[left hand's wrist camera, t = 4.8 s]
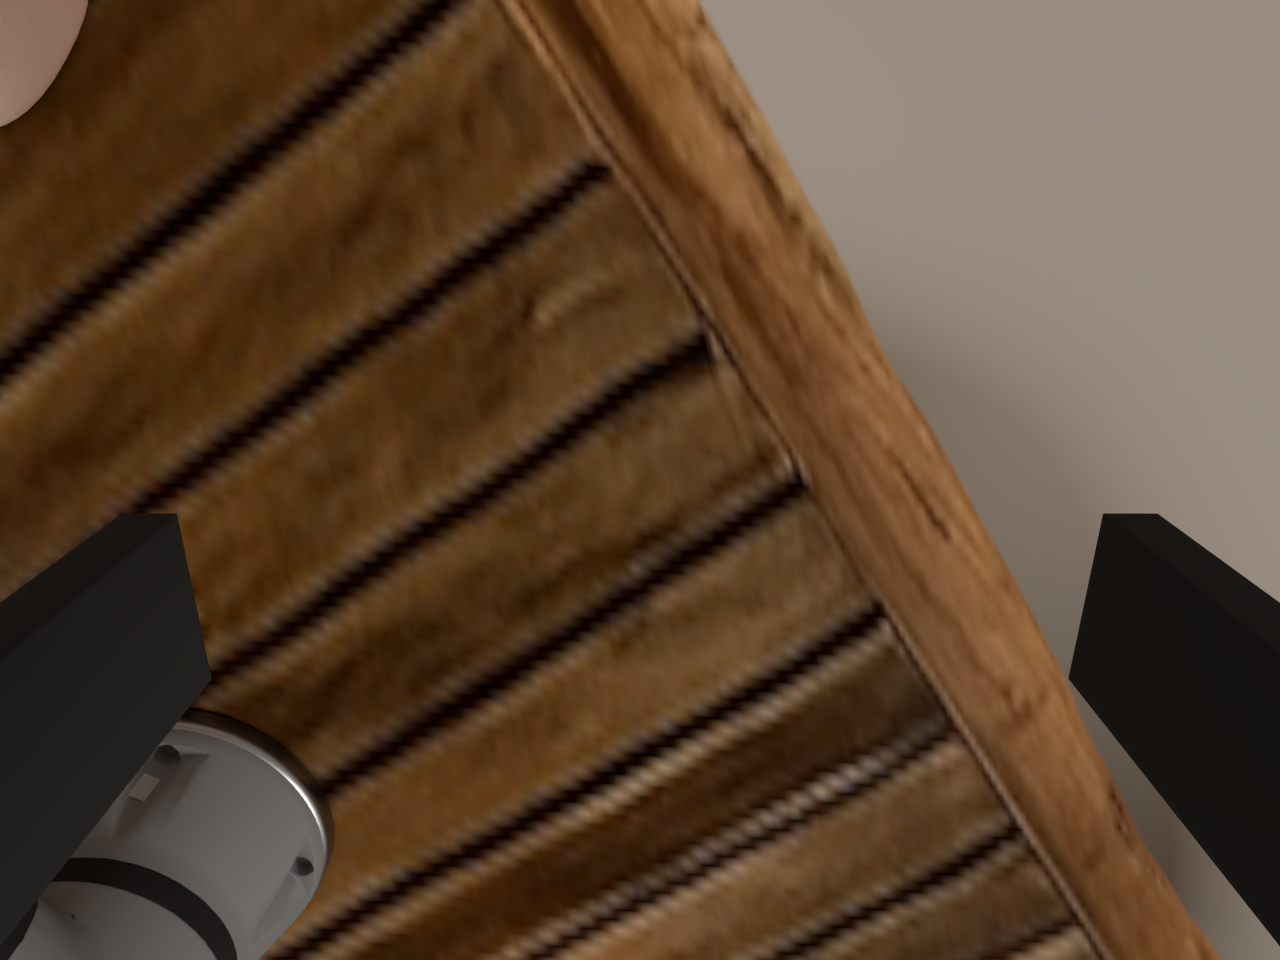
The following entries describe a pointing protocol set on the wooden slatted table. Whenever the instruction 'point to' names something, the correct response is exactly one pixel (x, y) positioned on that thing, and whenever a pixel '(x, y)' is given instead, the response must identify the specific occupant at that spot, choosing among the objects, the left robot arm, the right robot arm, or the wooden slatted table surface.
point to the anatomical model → (34, 49)
